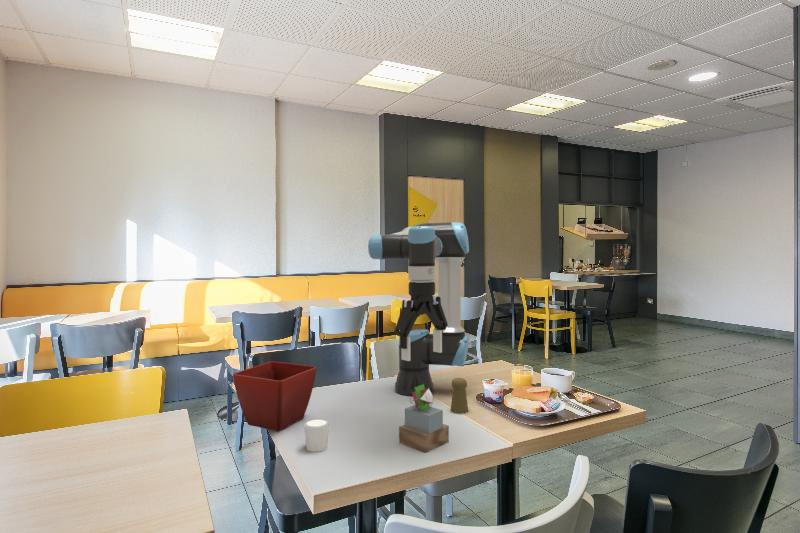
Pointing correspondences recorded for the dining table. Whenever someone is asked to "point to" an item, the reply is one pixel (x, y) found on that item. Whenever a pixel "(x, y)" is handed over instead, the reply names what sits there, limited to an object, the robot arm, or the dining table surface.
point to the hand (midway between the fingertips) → (422, 356)
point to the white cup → (316, 434)
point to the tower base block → (423, 438)
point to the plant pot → (274, 393)
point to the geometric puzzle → (422, 397)
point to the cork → (459, 396)
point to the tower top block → (424, 419)
